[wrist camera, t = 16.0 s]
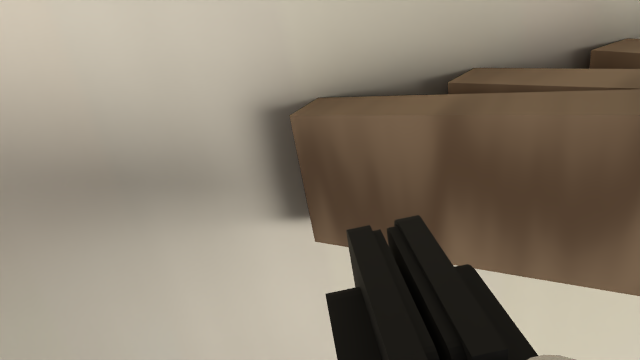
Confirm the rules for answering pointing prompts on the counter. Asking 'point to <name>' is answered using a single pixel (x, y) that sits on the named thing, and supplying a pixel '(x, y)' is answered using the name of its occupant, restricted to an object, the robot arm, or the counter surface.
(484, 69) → the domino
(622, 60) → the domino
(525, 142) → the domino
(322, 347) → the counter surface
